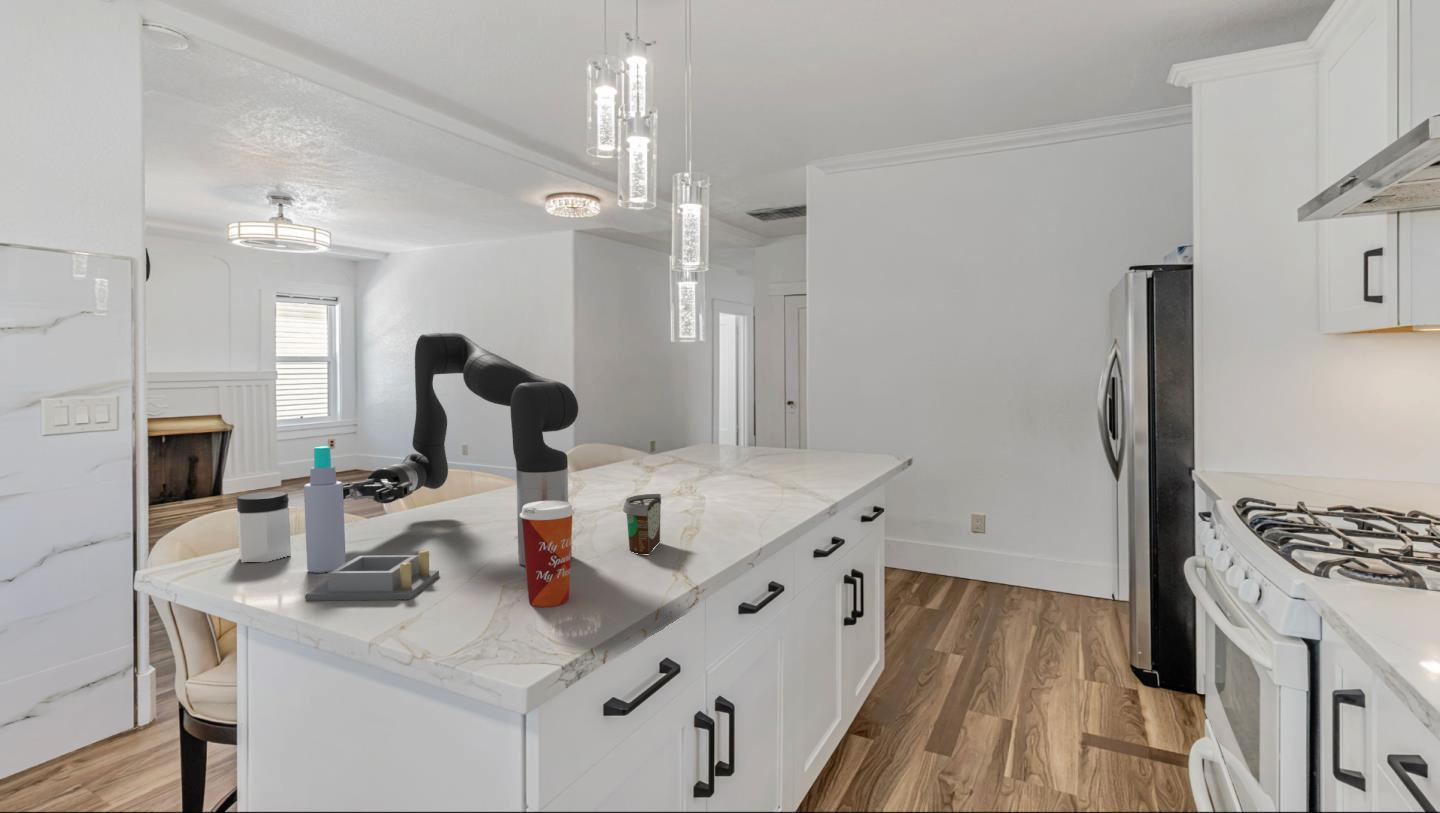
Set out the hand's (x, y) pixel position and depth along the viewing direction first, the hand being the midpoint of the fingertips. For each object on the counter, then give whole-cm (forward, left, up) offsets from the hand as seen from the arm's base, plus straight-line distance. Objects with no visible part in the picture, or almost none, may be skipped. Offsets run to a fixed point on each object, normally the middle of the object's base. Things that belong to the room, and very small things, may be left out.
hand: (355, 496), depth 135 cm
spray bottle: (0, +11, -11) cm, 16 cm away
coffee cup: (-44, +29, -11) cm, 54 cm away
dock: (-14, +22, -11) cm, 28 cm away
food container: (-55, -1, -11) cm, 56 cm away
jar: (+16, +3, -11) cm, 20 cm away
